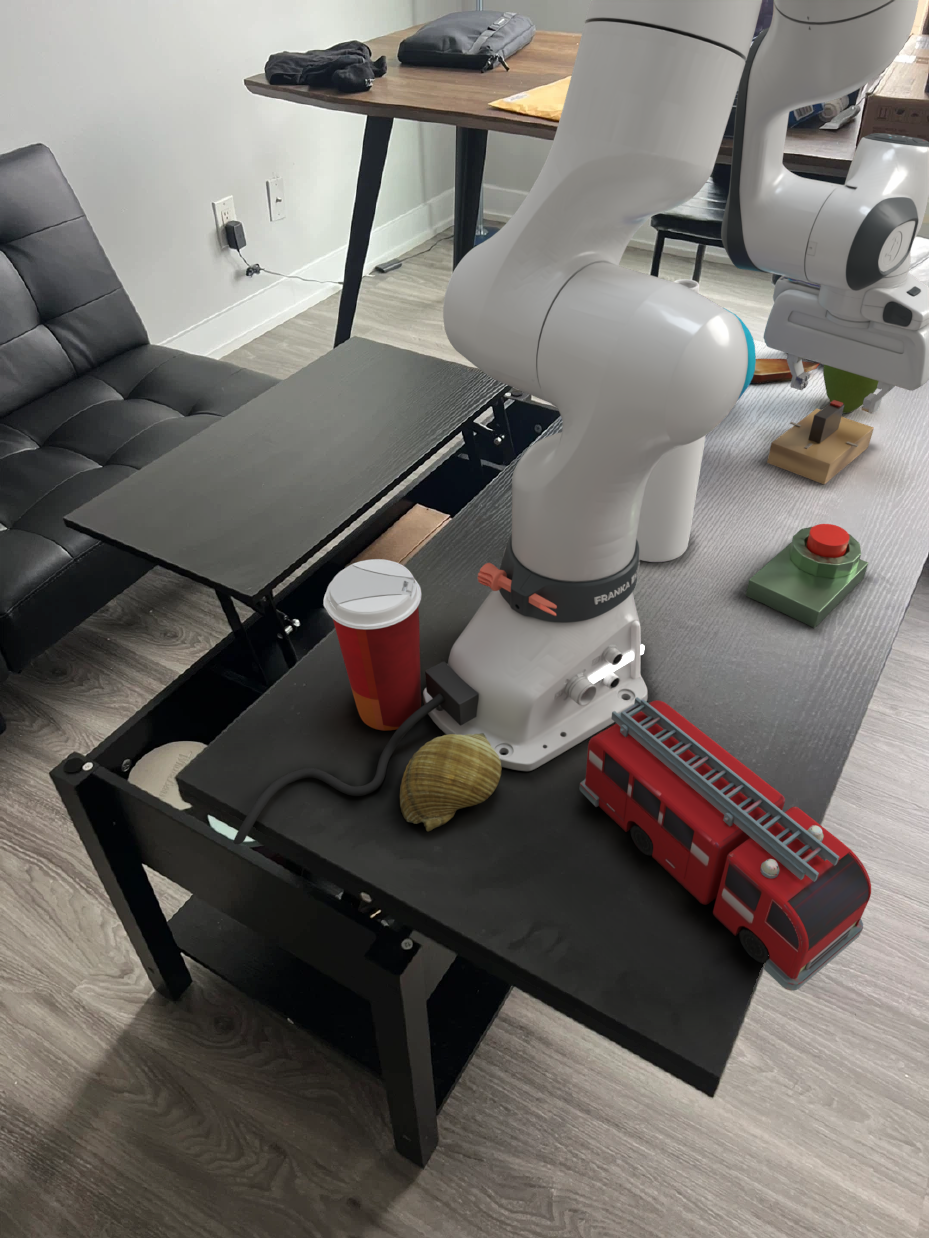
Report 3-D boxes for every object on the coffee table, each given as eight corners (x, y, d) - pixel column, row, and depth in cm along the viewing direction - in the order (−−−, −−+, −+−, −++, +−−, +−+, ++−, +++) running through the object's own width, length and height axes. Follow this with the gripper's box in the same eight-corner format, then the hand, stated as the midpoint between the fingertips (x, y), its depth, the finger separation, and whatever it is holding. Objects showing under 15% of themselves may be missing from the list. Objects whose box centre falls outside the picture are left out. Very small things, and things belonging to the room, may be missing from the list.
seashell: (432, 856, 78) (477, 847, 72) (369, 809, 77) (408, 795, 70) (482, 765, 83) (528, 749, 77) (423, 719, 82) (465, 699, 75)
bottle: (650, 572, 101) (684, 307, 81) (602, 537, 106) (624, 281, 86) (703, 546, 104) (748, 286, 85) (654, 514, 109) (686, 262, 90)
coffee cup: (438, 678, 89) (426, 556, 79) (426, 742, 83) (412, 617, 73) (354, 675, 90) (332, 553, 80) (336, 737, 84) (310, 614, 74)
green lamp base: (814, 628, 93) (823, 598, 90) (745, 595, 97) (751, 565, 95) (867, 574, 99) (877, 545, 97) (800, 545, 104) (807, 517, 101)
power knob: (819, 444, 115) (826, 417, 112) (807, 439, 115) (814, 413, 113) (838, 429, 117) (845, 402, 115) (826, 425, 118) (833, 399, 116)
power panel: (829, 486, 113) (835, 464, 111) (762, 461, 118) (767, 439, 116) (872, 449, 119) (879, 427, 117) (807, 426, 124) (812, 405, 122)
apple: (886, 422, 124) (911, 341, 117) (826, 425, 124) (846, 345, 116) (861, 392, 131) (883, 314, 123) (803, 396, 131) (821, 318, 123)
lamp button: (834, 563, 95) (838, 550, 94) (799, 548, 97) (802, 535, 96) (852, 546, 97) (856, 533, 96) (817, 532, 99) (821, 519, 98)
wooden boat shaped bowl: (814, 369, 137) (817, 358, 136) (823, 386, 133) (826, 374, 132) (718, 369, 138) (720, 358, 137) (724, 386, 134) (726, 375, 133)
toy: (788, 1003, 63) (819, 925, 57) (576, 798, 78) (581, 717, 71) (861, 939, 67) (898, 858, 60) (645, 754, 81) (656, 673, 75)
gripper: (765, 276, 108) (745, 383, 117) (937, 320, 97) (901, 435, 106) (791, 261, 111) (770, 366, 121) (961, 302, 100) (924, 414, 110)
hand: (833, 398), depth 113 cm, fingers open, 8 cm apart
